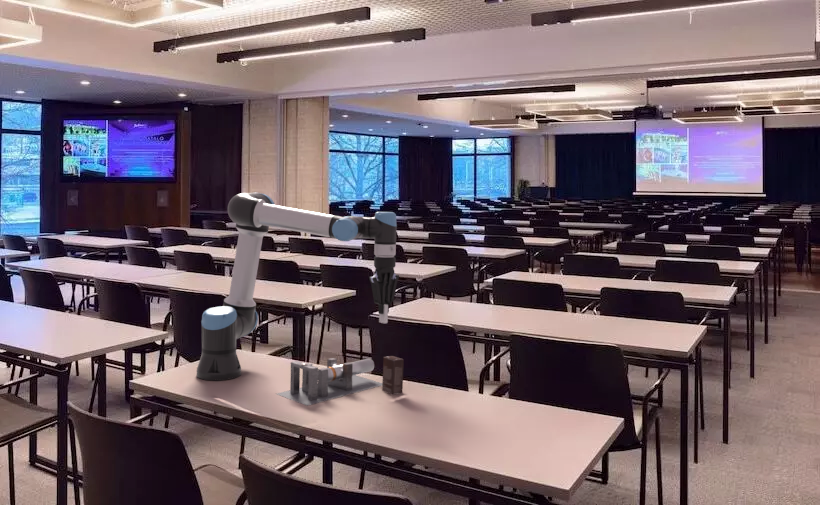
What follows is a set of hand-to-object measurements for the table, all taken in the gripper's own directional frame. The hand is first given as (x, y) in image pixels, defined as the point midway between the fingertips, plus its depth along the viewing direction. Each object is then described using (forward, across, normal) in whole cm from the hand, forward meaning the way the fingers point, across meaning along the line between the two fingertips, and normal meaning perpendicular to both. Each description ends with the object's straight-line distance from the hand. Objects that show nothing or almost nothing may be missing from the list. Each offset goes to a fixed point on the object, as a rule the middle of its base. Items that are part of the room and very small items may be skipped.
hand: (383, 322), depth 241 cm
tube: (+16, -17, 0) cm, 24 cm away
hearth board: (+20, -23, 0) cm, 31 cm away
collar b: (+19, -31, 0) cm, 36 cm away
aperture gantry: (+19, -35, 0) cm, 40 cm away
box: (+20, -10, -15) cm, 27 cm away
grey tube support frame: (+19, -20, 0) cm, 28 cm away
